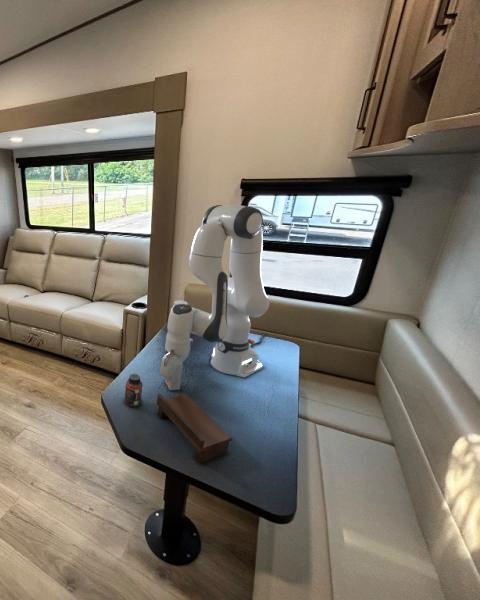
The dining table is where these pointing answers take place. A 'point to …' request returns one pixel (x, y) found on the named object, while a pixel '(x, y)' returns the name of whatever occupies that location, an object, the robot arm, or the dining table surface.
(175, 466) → the dining table surface
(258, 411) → the dining table surface
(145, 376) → the dining table surface
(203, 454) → the dark wooden riser
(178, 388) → the cosmetic box
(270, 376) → the dining table surface
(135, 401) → the supplement bottle
